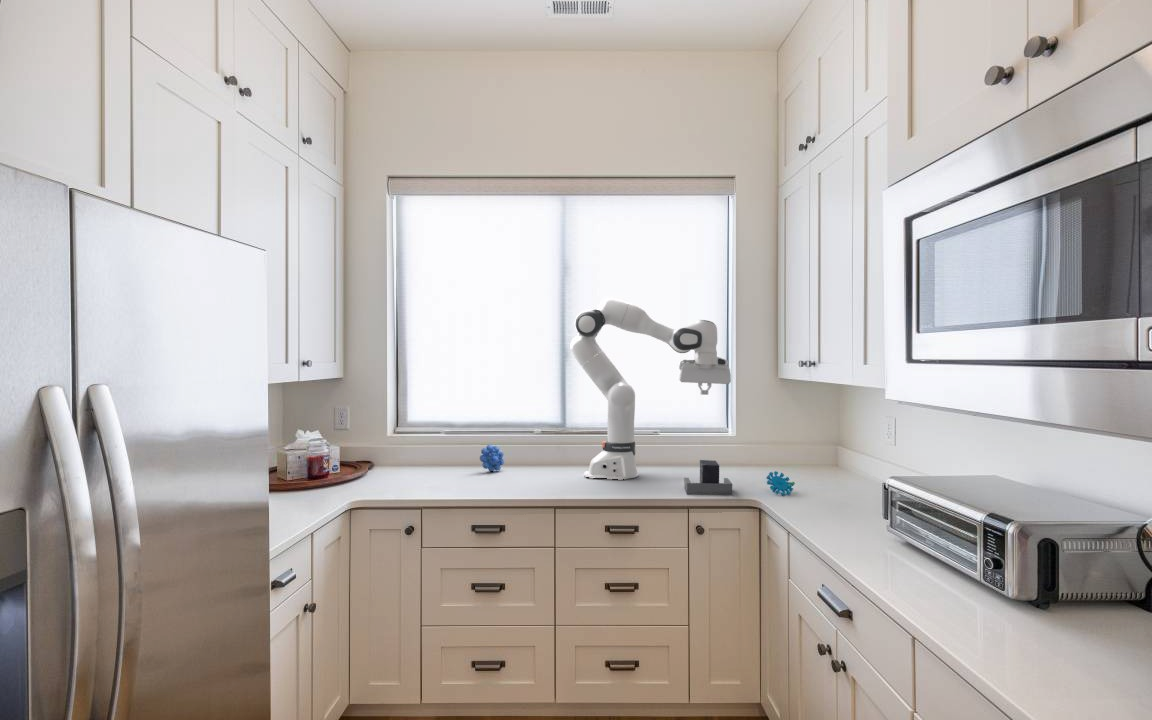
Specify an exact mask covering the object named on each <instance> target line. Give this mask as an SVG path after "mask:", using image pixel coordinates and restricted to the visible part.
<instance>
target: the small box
mask: <svg viewBox="0 0 1152 720" xmlns="http://www.w3.org/2000/svg"><path fill="white" fill-rule="evenodd" d="M699 483H720V465H719V463H718V462H717V460H709V459H708V460H707V459H700V460H699Z"/></svg>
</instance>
